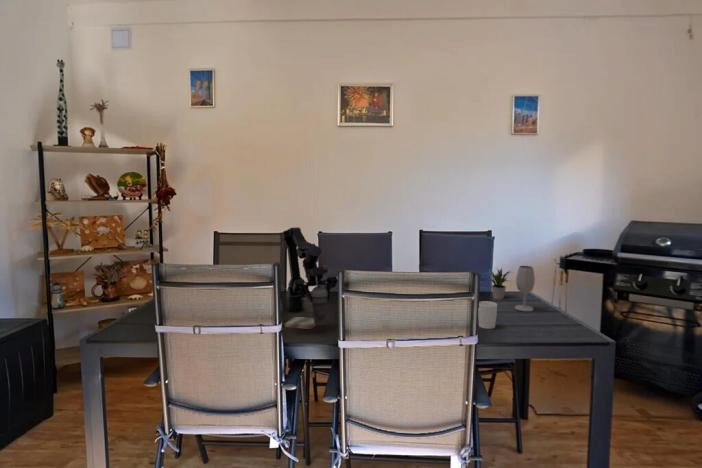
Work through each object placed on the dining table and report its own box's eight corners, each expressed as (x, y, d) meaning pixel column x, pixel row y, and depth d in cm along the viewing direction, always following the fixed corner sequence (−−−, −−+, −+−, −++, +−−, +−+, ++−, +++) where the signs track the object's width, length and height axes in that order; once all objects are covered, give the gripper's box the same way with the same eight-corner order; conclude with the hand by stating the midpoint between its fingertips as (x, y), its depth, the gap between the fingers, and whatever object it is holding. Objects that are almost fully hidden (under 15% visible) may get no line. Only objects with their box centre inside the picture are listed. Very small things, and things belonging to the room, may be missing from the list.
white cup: (486, 330, 185) (487, 307, 184) (473, 325, 192) (474, 302, 191) (500, 327, 189) (501, 304, 188) (487, 322, 196) (487, 300, 195)
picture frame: (285, 326, 192) (284, 323, 192) (294, 319, 201) (294, 316, 201) (311, 329, 189) (311, 325, 188) (319, 321, 198) (319, 318, 198)
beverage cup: (325, 326, 182) (325, 278, 179) (308, 325, 183) (307, 277, 180) (330, 320, 189) (329, 274, 186) (313, 319, 190) (312, 273, 187)
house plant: (518, 302, 227) (519, 270, 225) (491, 302, 227) (492, 270, 225) (508, 294, 241) (510, 265, 239) (483, 295, 241) (484, 265, 239)
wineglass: (514, 311, 212) (515, 267, 209) (514, 306, 220) (516, 264, 217) (533, 313, 209) (535, 269, 206) (533, 307, 217) (535, 265, 214)
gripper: (293, 260, 182) (302, 293, 174) (336, 257, 190) (346, 288, 181) (289, 275, 190) (297, 307, 182) (329, 271, 198) (339, 302, 189)
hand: (320, 301), depth 183 cm, fingers closed on beverage cup, 7 cm apart
